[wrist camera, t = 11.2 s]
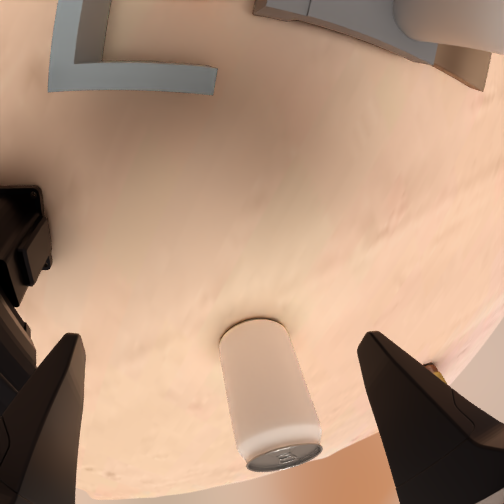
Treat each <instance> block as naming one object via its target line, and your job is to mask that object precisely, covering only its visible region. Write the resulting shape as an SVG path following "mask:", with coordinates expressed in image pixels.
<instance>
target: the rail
mask: <svg viewBox="0 0 504 504" xmlns="http://www.w3.org/2000/svg"><path fill="white" fill-rule="evenodd" d="M491 54H492V53H491V52H488V51H483V50H478V49H473V48H467V47H461V46H454V45H447V44H440V43H438V46H437V51H436V55H435V60H434V64H433V65H431V66H433V67H435V68H437V69H439V70H441V71H443V72H444V73H446V74H448V75H450V76H452V77H453V78H455V79H457V80H459V81H460V82H462V83H464V84H465V85H467V86H469V87H470V88H472V89H476V90H479V91H482V92H483V91H484V87H485V82H486V78H487V73H488V69H489V64H490V59H491Z"/></svg>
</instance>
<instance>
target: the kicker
mask: <svg viewBox="0 0 504 504" xmlns="http://www.w3.org/2000/svg"><path fill="white" fill-rule="evenodd" d="M253 14H255V15H260V16H265V17H270V18H274V19H279V20H283V21H291V20H294V19H296V20H300V21H303V22H307V23H311V24H314V25H318V26H321V27H324V28H328V29H331V30H334V31H337V32H340V33H343V34H346V35H349V36H352V37H355V38H357V39H360V40H363V41H365V42H368V43H371V44H373V45H376V46H378V47H381V48H383V49H386V50H388V51H390V52H393V53H395V54H397V55H400V56H402V57H404V58H406V59H408V60H411V61H413V62H418V63H423V64H429V65H433V64H434V60H435V55H436V51H437V46H438V43H440V44H447V45H454V46H461V47H467V48H473V49H478V50H483V51H488V52H493V53H497V54H502V55H504V0H256V1H255V6H254V10H253Z"/></svg>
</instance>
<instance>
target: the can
mask: <svg viewBox="0 0 504 504" xmlns="http://www.w3.org/2000/svg"><path fill="white" fill-rule="evenodd" d="M219 351H220V358H221V364H222V370H223V377H224V383H225V388H226V394H227V400H228V405H229V411H230V416H231V422H232V427H233V432H234V437H235V442H236V446H237V449H238V452H239V453H240V455H241V456H242V457H243V458H244V460H245V461H246V462H247V465H246V467H247V469H249V470H251V471H255V472H271V471H278V470H283V469H288V468H291V467H295V466H298V465H300V464H303V463H305V462H307V461H310V460H311V459H313V458H315V457H316V456H318V455H319V454H320V453H321V452H322V449H323V448H322V446H321V445H320V440H321V434H322V429H321V425H320V422H319V419H318V416H317V413H316V410H315V407H314V404H313V401H312V399H311V396H310V393H309V390H308V387H307V384H306V382H305V379H304V376H303V373H302V370H301V368H300V365H299V362H298V359H297V356H296V354H295V351H294V348H293V346H292V343H291V340H290V337H289V335H288V332H287V330H286V329H285V328H284V327H283V326H282V325H281V324H279V323H277V322H275V321H272V320H268V319H251V320H247V321H244V322H241V323H239V324H237V325H235V326H234V327H232V328H231V329H229V330H228V331H227V332H226V334H225V335H224V336H223V337H222V339H221V341H220V344H219Z"/></svg>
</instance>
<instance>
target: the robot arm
mask: <svg viewBox="0 0 504 504" xmlns="http://www.w3.org/2000/svg"><path fill="white" fill-rule="evenodd" d="M32 192H35V193H36V195H37V196H34V195H33V193H32ZM51 250H52V245H51V239H50V233H49V227H48V219H47V218H46V216H45V215H44V207H43V199H42V192H41V189H40V188H39V187H38V186H0V504H75V487H76V470H77V457H78V446H79V437H80V428H81V420H82V412H83V402H84V378H85V361H86V354H85V349H84V346H83V342H82V339H81V336H80V335H79V334H78V333H66V334H65V335H64V336H63V337H62V338H61V340H60V341H59V342H58V343H57V344H56V346H55V347H54V348H53V349H52V350H51V352H50V353H49V354H48V355H47V357H46V358H45V359H44V360H43V362H42V363H41V364H40V365H39V367H38V368H37V367H36V349H35V347H34V344H33V341H32V340H31V332H30V328H29V326H28V325H27V323H26V322H24V321H23V320H22V318H21V317H20V316H19V314H18V313H17V311H16V309H15V308H14V307H19V306H20V303H21V301H22V299H23V297H24V294H25V292H26V290H27V288H28V286H33V285H34V284H35V283H36V280H37V278H38V276H39V274H40V272H41V270H49V269H50V268H51V265H52V258H51V253H50V252H51ZM45 262H46V263H47V264H45ZM357 354H358V359H359V363H360V367H361V371H362V376H363V380H364V385H365V389H366V392H367V396H368V399H369V402H370V405H371V408H372V411H373V414H374V417H375V420H376V423H377V426H378V430H379V433H380V436H381V439H382V442H383V446H384V449H385V452H386V456H387V459H388V462H389V466H390V469H391V472H392V476H393V480H394V483H395V486H396V491H397V494H398V498H399V502H400V504H504V424H503V423H501V422H499V421H498V420H496V419H495V418H493V417H492V416H490V415H489V414H487V413H486V412H484V411H483V410H481V409H480V408H478V407H477V406H475V405H474V404H472V403H471V402H469V401H468V400H467V399H465V398H464V397H463V396H461V395H460V394H458V393H457V392H456V391H455V390H454V389H451V387H450V386H449V385H447V384H446V383H445V382H443V381H442V380H441V379H440V378H438V377H437V376H436V375H435V374H433V373H432V372H431V371H429V370H428V369H427V368H426V367H424V366H423V365H422V364H420V363H419V362H418V361H417V360H415V359H414V358H413V357H411V356H410V355H409V354H408V353H406V352H405V351H404V350H402V349H401V348H400V347H399V346H397V345H396V344H395V343H393V342H392V341H391V340H390V339H388V338H387V337H386V336H384V335H383V334H382V333H380V332H379V331H369V332H367V333H366V334H365V336H364V338H363V339H362V341H361V343H360V344H359V346H358V349H357Z"/></svg>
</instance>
